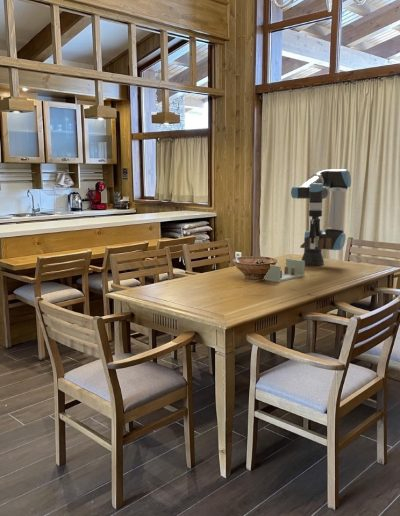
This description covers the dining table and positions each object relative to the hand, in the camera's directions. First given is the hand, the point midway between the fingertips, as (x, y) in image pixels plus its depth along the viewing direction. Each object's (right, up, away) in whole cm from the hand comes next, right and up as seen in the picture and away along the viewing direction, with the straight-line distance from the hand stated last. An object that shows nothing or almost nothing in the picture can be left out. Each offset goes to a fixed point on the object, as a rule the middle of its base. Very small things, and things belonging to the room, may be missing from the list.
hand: (314, 247), depth 294 cm
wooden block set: (+1, -1, +1) cm, 2 cm away
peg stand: (-19, -18, 0) cm, 26 cm away
